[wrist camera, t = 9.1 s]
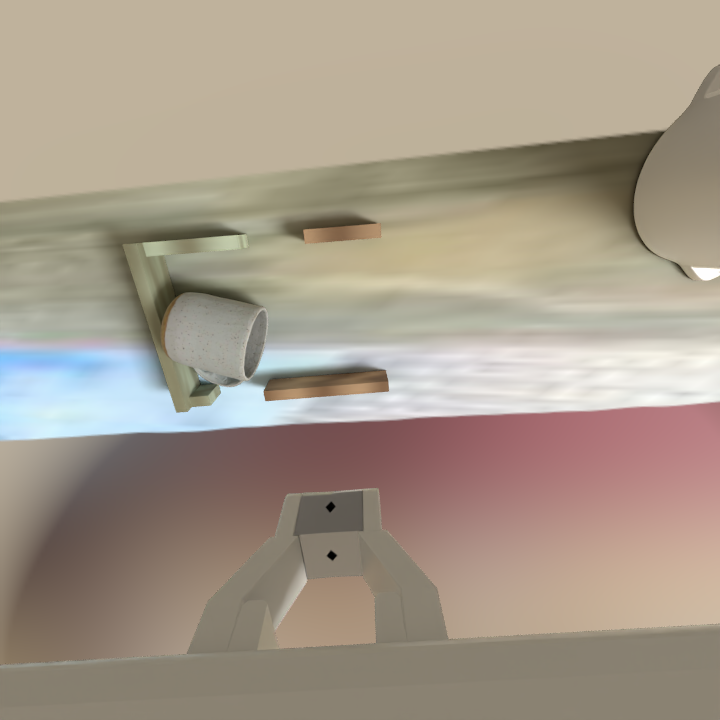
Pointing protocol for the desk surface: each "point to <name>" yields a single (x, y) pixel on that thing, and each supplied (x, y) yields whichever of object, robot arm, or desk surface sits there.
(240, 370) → the ceramic mug
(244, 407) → the desk surface
